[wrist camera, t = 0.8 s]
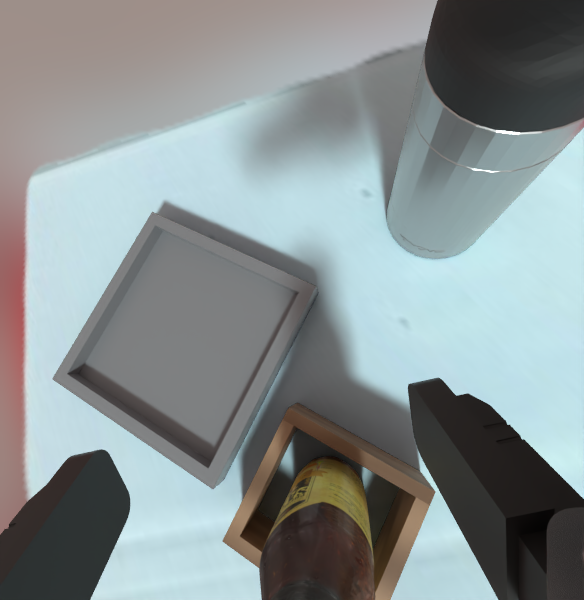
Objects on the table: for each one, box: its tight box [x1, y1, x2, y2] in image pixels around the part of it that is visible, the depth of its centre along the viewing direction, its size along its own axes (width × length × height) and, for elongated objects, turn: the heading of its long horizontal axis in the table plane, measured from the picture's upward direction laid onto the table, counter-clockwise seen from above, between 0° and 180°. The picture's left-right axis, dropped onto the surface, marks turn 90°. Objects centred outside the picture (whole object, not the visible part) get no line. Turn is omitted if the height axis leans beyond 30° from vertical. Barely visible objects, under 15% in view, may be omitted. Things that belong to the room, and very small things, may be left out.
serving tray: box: [53, 212, 318, 489], centre depth 33 cm, size 20×20×2 cm
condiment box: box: [223, 403, 435, 600], centre depth 26 cm, size 11×12×5 cm
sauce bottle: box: [259, 456, 376, 600], centre depth 19 cm, size 7×6×20 cm
